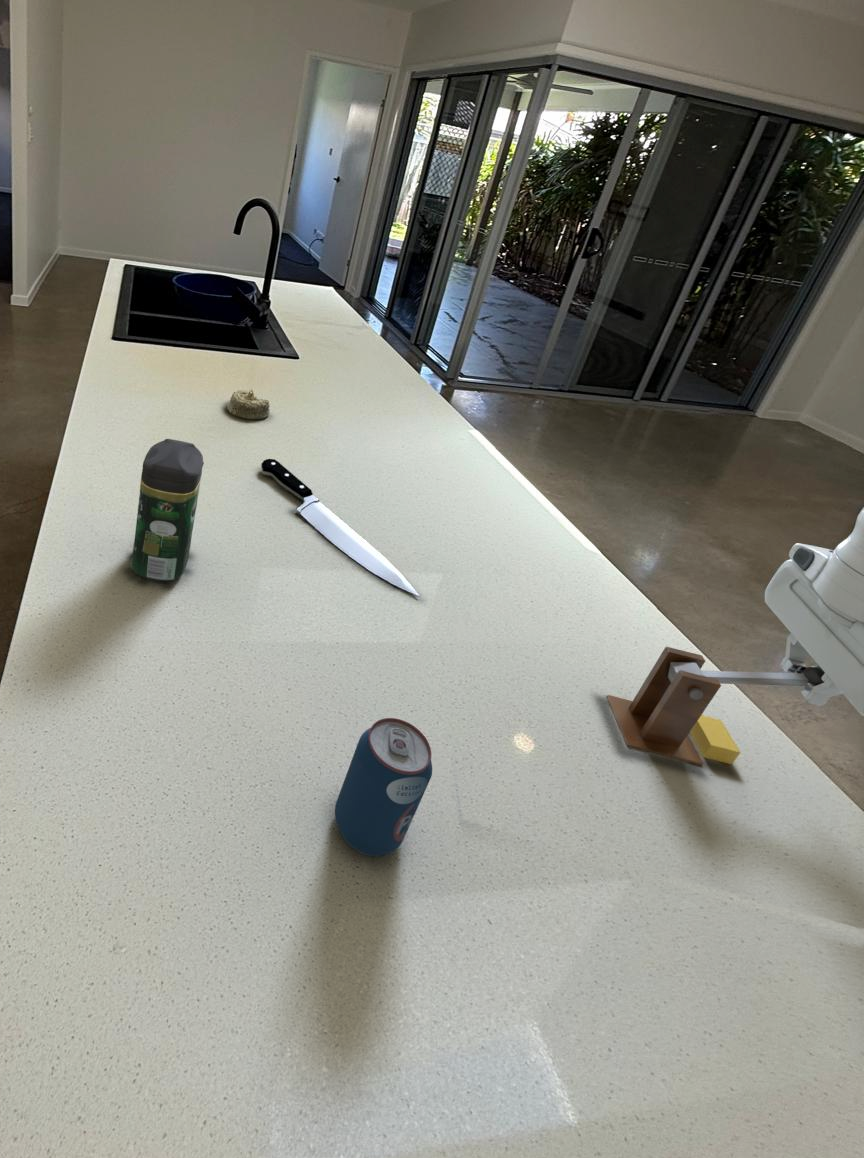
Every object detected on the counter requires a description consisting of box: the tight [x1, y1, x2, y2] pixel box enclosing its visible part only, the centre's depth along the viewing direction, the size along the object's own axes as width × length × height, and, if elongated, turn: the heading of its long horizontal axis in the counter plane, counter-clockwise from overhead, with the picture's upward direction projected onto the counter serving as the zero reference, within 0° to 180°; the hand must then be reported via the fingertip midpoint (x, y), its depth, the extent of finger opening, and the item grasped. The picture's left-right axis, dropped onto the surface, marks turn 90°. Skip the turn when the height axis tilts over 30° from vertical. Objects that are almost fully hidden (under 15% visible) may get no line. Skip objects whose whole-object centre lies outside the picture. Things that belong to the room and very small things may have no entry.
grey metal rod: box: [668, 662, 825, 687], centre depth 77 cm, size 17×3×3 cm, turn 81°
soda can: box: [334, 717, 433, 857], centre depth 61 cm, size 7×7×12 cm
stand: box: [605, 646, 722, 766], centre depth 80 cm, size 9×8×12 cm
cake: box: [226, 389, 271, 420], centre depth 149 cm, size 10×10×5 cm
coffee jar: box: [130, 438, 205, 583], centre depth 91 cm, size 10×8×19 cm
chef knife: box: [260, 458, 420, 597], centre depth 112 cm, size 5×41×2 cm, turn 36°
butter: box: [689, 714, 741, 765], centre depth 82 cm, size 4×5×3 cm
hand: (799, 686), depth 76 cm, fingers closed on grey metal rod, 3 cm apart
